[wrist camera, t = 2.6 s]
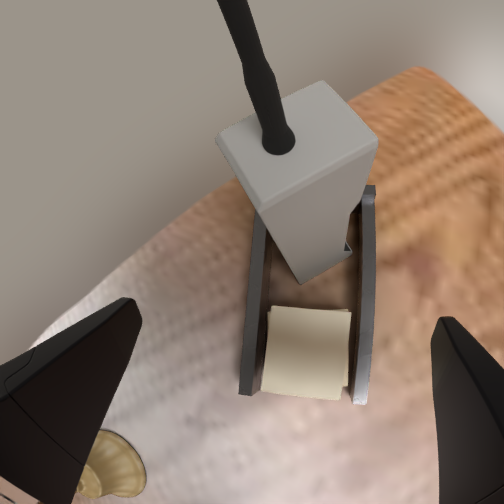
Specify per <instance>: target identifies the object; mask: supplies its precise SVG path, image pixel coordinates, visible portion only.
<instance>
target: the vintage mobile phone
mask: <svg viewBox="0 0 504 504" xmlns="http://www.w3.org/2000/svg"><path fill="white" fill-rule="evenodd" d="M217 2H218V4H219V6H220V9H221V11H222V13H223V16H224V19H225V21H226V24H227V26H228V28H229V31H230V34H231V36H232V39H233V41H234V44H235V46H236V49H237V51H238V54H239V57H240V59H241V62H242V67H243V74H244V81H245V85H246V88H247V90H248V93H249V95H250V98H251V101H252V103H253V106H254V109H255V111H256V112H255V113H253V114H252V115H250V116H248V117H246V118H244V119H243V120H241V121H239V122H237V123H235V124H233V125H232V126H230V127H228V128H226V129H225V130H223V131H221V132H220V133H219V134H218V135H217V137H216V139H215V142H216V143H217V145H218V147H219V148H220V150H221V152H222V153H223V155H224V157H225V158H226V160H227V162H228V163H229V165H230V167H231V168H232V170H233V172H234V173H235V175H236V177H237V178H238V180H239V182H240V183H241V185H242V187H243V189H244V190H245V192H246V194H247V195H248V197H249V199H250V200H251V202H252V204H253V205H254V207H255V209H256V211H257V212H258V214H259V216H260V217H261V219H262V221H263V222H264V224H265V226H266V228H267V229H268V231H269V233H270V234H271V236H272V238H273V239H274V241H275V243H276V245H277V246H278V248H279V250H280V251H281V253H282V255H283V257H284V258H285V260H286V262H287V263H288V265H289V267H290V269H291V270H292V272H293V274H294V276H295V277H296V279H297V281H298V283H299V284H300V285H302V284H303V283H305V282H307V281H308V280H310V279H312V278H314V277H315V276H317V275H319V274H320V273H322V272H324V271H326V270H327V269H329V268H331V267H332V266H334V265H336V264H337V263H339V262H341V261H342V260H344V259H346V258H347V257H349V256H351V255H352V250H351V248H350V247H349V245H348V244H347V242H346V236H347V230H348V223H349V217H350V214H351V212H352V211H353V210H354V208H355V207H356V205H357V204H358V203H359V201H360V200H361V197H362V194H363V191H364V188H365V185H366V182H367V179H368V176H369V173H370V170H371V167H372V164H373V161H374V157H375V154H376V151H377V148H378V137H377V136H376V135H375V134H374V133H373V132H372V131H371V129H370V128H369V127H368V126H367V125H366V124H365V123H364V122H363V120H362V119H361V118H360V117H359V116H358V115H357V114H356V113H355V112H354V111H353V110H352V109H351V108H350V107H349V105H348V104H347V103H346V102H345V101H344V100H343V99H342V98H341V97H340V96H339V95H338V94H337V93H336V92H335V91H334V90H333V89H332V88H331V87H330V86H329V85H328V84H327V83H326V82H325V81H324V80H320V81H318V82H316V83H314V84H311V85H309V86H307V87H305V88H303V89H301V90H299V91H297V92H295V93H292V94H290V95H289V96H286V97H284V98H282V99H281V98H280V94H279V90H278V87H277V83H276V79H275V75H274V73H273V71H272V70H271V68H270V66H269V64H268V62H267V60H266V58H265V56H264V53H263V49H262V46H261V43H260V39H259V36H258V33H257V30H256V27H255V24H254V20H253V17H252V14H251V11H250V8H249V5H248V2H247V0H217Z"/></svg>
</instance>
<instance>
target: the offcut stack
mask: <svg viewBox="0 0 504 504" xmlns="http://www.w3.org/2000/svg"><path fill="white" fill-rule="evenodd" d="M350 321H351V312H348V309H336V310H316V309H304V308H293V307H283V306H273V305H272V307H271V312H268V339H267V347H266V355H265V363H264V370H263V378H262V385H261V391H262V392H268V393H275V394H283V395H290V396H299V397H308V398H317V399H328V400H340V398H341V392H342V386H348V340H349V331H350Z"/></svg>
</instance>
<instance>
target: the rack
mask: <svg viewBox="0 0 504 504" xmlns="http://www.w3.org/2000/svg"><path fill="white" fill-rule="evenodd" d="M375 196H376V190H375V185H365V188H364V191H363V194H362V197H361V200H360V201H359V203H358V204H357V205H356V207H355V208H354V210H353V211H352V212H351V213H353V214H359V282H358V307H357V325H356V339H355V352H354V363H353V373H352V383H351V391H350V398H351V401H352V404H366V402H367V395H368V386H369V377H370V368H371V357H372V345H373V331H374V313H375V284H376V235H375V205H374V199H375ZM272 243H273V238H272V236H271V234H270V233H269V231H268V229H267V228H266V226H265V224H264V222H263V221H262V219H261V217H260V216H259V214H258V212H257V211H256V209H255V219H254V230H253V240H252V251H251V262H250V273H249V284H248V295H247V306H246V317H245V328H244V338H243V349H242V360H241V371H240V382H239V393H238V394H240V395H247V396H252V395H254V394H255V393H256V392H257V391H259V390H260V384H261V373H262V362H263V352H264V340H265V329H266V318H267V306H268V294H269V282H270V269H271V256H272Z"/></svg>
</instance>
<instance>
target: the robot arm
mask: <svg viewBox="0 0 504 504" xmlns="http://www.w3.org/2000/svg"><path fill="white" fill-rule="evenodd" d="M141 326H142V316H141V314H140V311H139V309H138V306H137V304H136V301H135V300H134V299H132V298H125V297H123V298H120V299H118V300H116V301H115V302H113V303H111V304H109V305H107V306H106V307H104V308H102V309H100V310H99V311H97V312H95V313H93V314H91V315H90V316H88V317H86V318H84V319H83V320H81V321H79V322H77V323H75V324H74V325H72V326H70V327H68V328H67V329H65V330H63V331H61V332H60V333H58V334H56V335H54V336H53V337H51V338H49V339H48V340H46V341H44V342H42V343H41V344H39V345H37V346H36V347H34V348H32V349H30V350H28V351H27V352H25V353H23V354H21V355H20V356H18V357H16V358H14V359H12V360H10V361H8V362H6V363H5V364H2V365H0V504H38V503H39V502H42V503H44V504H71V503H72V500H73V497H74V494H75V492H76V489H77V486H78V483H79V481H80V478H81V475H82V473H83V470H84V466H85V464H86V462H87V459H88V457H89V454H90V452H91V449H92V447H93V444H94V442H95V439H96V437H97V434H98V432H99V430H100V427H101V425H102V422H103V420H104V418H105V415H106V413H107V411H108V408H109V406H110V404H111V401H112V399H113V397H114V395H115V392H116V390H117V388H118V386H119V383H120V381H121V379H122V377H123V374H124V372H125V370H126V368H127V365H128V363H129V360H130V358H131V355H132V352H133V349H134V346H135V343H136V340H137V337H138V335H139V332H140V329H141ZM431 361H432V387H433V401H434V409H435V418H436V429H437V442H438V459H439V504H504V369H503V368H502V367H501V366H500V365H499V363H498V362H497V361H496V360H495V359H494V358H493V357H492V356H491V355H490V354H489V353H488V352H487V351H486V350H485V348H484V347H483V346H482V345H481V344H480V343H479V342H478V341H477V340H476V339H475V338H474V337H473V336H472V335H471V334H470V333H469V332H468V331H467V330H466V329H465V328H464V327H463V326H462V325H461V324H460V323H459V322H458V321H457V320H456V319H455V318H454V317H451V316H445V317H440V318H439V319H438V321H437V324H436V327H435V330H434V332H433V335H432V338H431Z"/></svg>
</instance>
